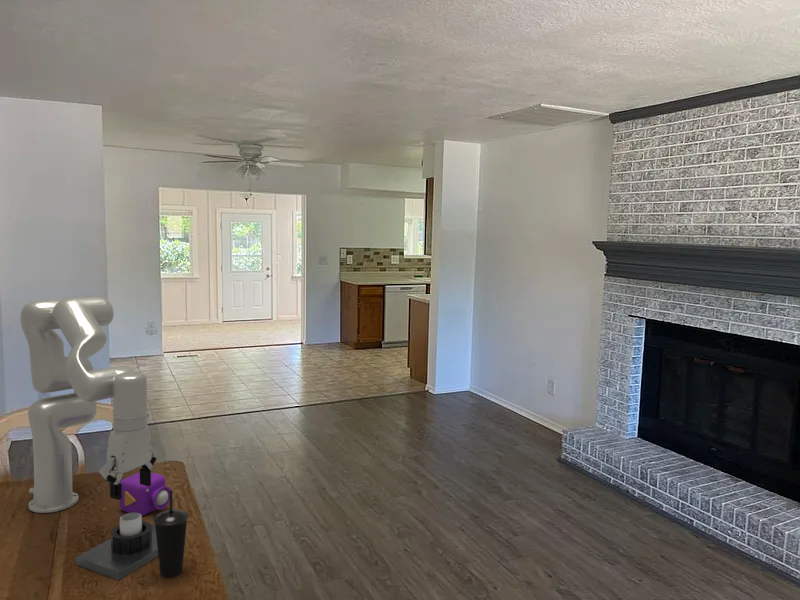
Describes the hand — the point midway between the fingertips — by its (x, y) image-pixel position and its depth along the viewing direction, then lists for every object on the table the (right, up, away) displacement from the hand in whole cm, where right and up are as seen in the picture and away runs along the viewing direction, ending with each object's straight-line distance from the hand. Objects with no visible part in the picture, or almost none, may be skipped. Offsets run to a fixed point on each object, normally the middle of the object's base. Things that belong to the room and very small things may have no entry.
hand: (131, 491), depth 148 cm
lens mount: (-1, -16, +2) cm, 16 cm away
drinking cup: (+12, -17, -6) cm, 22 cm away
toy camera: (-6, -13, +25) cm, 29 cm away
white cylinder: (-1, -14, +1) cm, 14 cm away
